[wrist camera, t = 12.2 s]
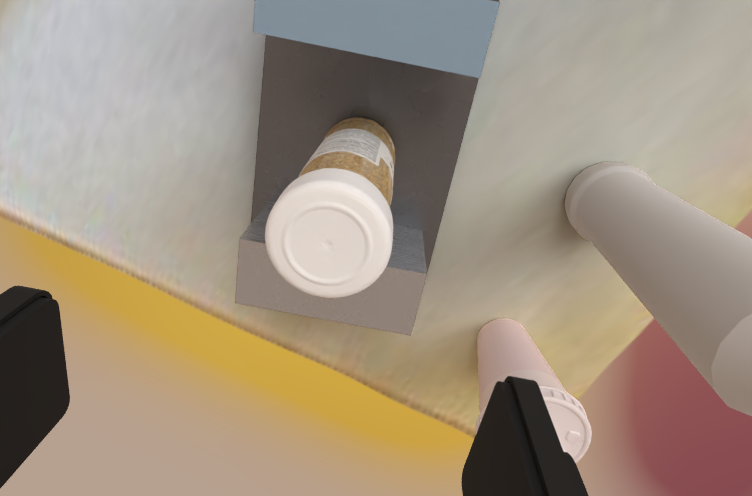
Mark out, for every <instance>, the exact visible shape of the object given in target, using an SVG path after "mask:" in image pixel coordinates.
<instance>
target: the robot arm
mask: <svg viewBox="0 0 752 496" xmlns="http://www.w3.org/2000/svg"><path fill="white" fill-rule="evenodd" d="M69 402H70V395H69V387H68V378H67V370H66V361H65V354H64V345H63V336H62V328H61V319H60V311H59V305H58V303H57V301H56V300H53V299H52V295H51V294H50V293H49V292H47V291H44V290H39V289H34V288H28V287H23V286H14V287H12V288H9V289H8V290H7V291H5V292H3V293H2V294H0V488H1V487H2V486H3V485H4V484H5V483H6V481H7V480H8V479H9V478H10V477H11V476H12V475H13V473H14V472H15V471H16V470H17V469H18V468H19V466H20V465H21V464H22V463H23V462H24V461H25V460H26V458H27V457H28V456H29V455H30V454H31V453H32V452H33V450H34V449H35V448H36V447H37V446H38V444H39V443H40V442H41V441H42V440H43V439H44V438H45V437H46V435H47V434H48V433H49V432H50V431H51V430H52V429H53V427H54V426H55V425H56V424H57V423H58V422H59V420H60V419H61V418H62V417H63V416H64V414H65V413H66V411H67V409H68V406H69ZM462 491H463V496H588V494H587V491H586V488H585V486H584V484H583V481H582V478H581V476H580V473H579V471H578V468H577V466H576V463H575V461H574V459H573V458H572V456H571V455H570V454H569V453H568V452H564V451H563V449H562V446H561V443H560V441H559V438H558V435H557V433H556V430H555V428H554V425H553V422H552V420H551V417H550V414H549V412H548V409H547V406H546V404H545V401H544V399H543V396H542V393H541V391H540V388H539V385H538V384H537V382H536V381H534V380H529V379H524V378H518V377H513V376H507V378H506V379H505V380H504V382H501V381H498V382H497V383H496V384H495V386H494V389H493V392H492V394H491V397H490V399H489V402H488V405H487V407H486V410H485V413H484V415H483V418H482V420H481V423H480V426H479V428H478V431H477V434H476V436H475V439H474V442H473V444H472V447H471V449H470V452H469V455H468V457H467V460H466V463H465V465H464V468H463V473H462Z"/></svg>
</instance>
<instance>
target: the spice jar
mask: <svg viewBox="0 0 752 496" xmlns="http://www.w3.org/2000/svg"><path fill="white" fill-rule="evenodd" d="M394 165H395V147H394V143H393V141H392V139H391V137H390V135H389V134H388V133H387V132H386V130H385V129H384V128H383V127H381V126H380V125H379V124H377V123H376V122H374V121H373V120H370V119H365V118H355V117H353V118H349V119H345V120H342V121H341V122H339V123H337V124H336V125H334V126H333V127H332V128H331V129H330V130H329V131H328V133H327V134H326V136H325V138H324V140H323V142H322V143H321V144H320V146H319V147H318V148H317V150H316V151H315V153H314V154H313V155H312V157H311V158H310V160H309V161H308V162H307V164H306V165H305V166H304V168H303V169H302V171H301V173H300V175H299V177H298V178H297V179H296V180H294V181H293V182H292V183H291V184H289V185H288V186H287V188H286V189H285V190H284V191H283V193H282V194H281V195H280V197H279V198H278V200H277V201H276V203H275V205H274V206H273V208H272V210H271V212H270V214H269V217H268V220H267V223H266V228H265V242H266V248H267V252H268V255H269V257H270V260H271V262H272V264H273V265H274V267H275V269H276V270H277V271H278V272H279V274H280V275H281V276H282V277H283V278H284V279H285V280H286V281H287V282H288V283H290V284H291V285H293V286H294V287H296V288H297V289H299V290H301V291H303V292H305V293H308V294H311V295H314V296H319V297H325V298H339V297H345V296H350V295H353V294H355V293H358V292H360V291H362V290H364V289H365V288H367V287H369V286H370V285H371V284H372V283H374V282H375V281H376V280H377V279H378V278H379V276H380V275H381V274H382V273H383V271H384V270H385V268H386V266H387V264H388V261H389V259H390V255H391V251H392V243H393V218H392V213H391V210H390V205H391V200H392V193H393V178H394Z"/></svg>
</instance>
